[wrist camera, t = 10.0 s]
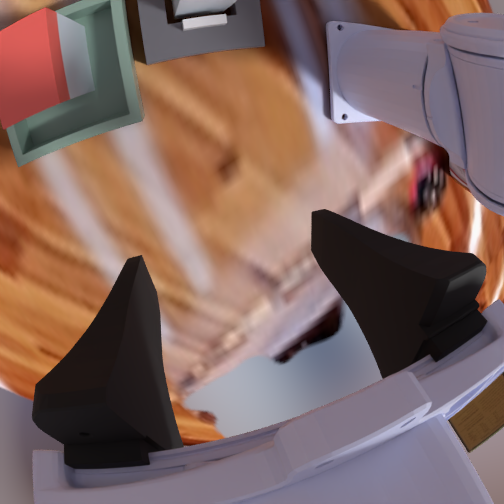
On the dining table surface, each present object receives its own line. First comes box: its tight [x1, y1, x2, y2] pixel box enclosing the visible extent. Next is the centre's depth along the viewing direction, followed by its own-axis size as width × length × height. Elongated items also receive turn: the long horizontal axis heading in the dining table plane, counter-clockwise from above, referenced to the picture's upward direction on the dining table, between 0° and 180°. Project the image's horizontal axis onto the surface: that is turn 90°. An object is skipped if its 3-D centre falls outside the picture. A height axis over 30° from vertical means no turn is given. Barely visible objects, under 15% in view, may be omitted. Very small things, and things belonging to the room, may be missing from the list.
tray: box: [6, 0, 145, 167], centre depth 12 cm, size 8×8×2 cm
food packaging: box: [448, 372, 504, 453], centre depth 36 cm, size 13×9×25 cm
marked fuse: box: [0, 7, 95, 130], centre depth 10 cm, size 3×4×7 cm, turn 6°
